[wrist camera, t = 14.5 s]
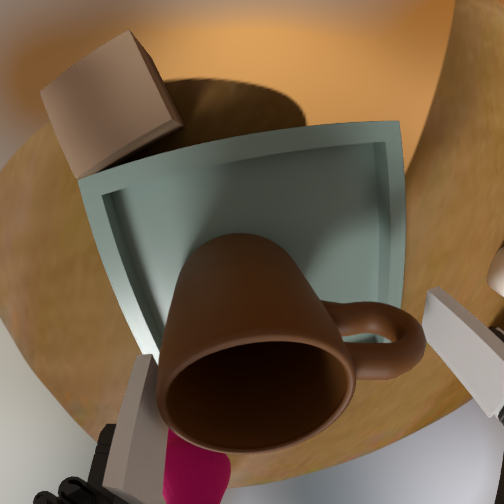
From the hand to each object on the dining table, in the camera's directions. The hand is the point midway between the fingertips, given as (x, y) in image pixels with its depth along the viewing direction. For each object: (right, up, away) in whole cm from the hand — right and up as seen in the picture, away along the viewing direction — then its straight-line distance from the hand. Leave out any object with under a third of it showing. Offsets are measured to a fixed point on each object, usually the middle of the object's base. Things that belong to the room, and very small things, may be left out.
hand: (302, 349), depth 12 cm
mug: (-1, +2, +6) cm, 7 cm away
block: (-9, +12, +2) cm, 16 cm away
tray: (-1, +3, +7) cm, 7 cm away
